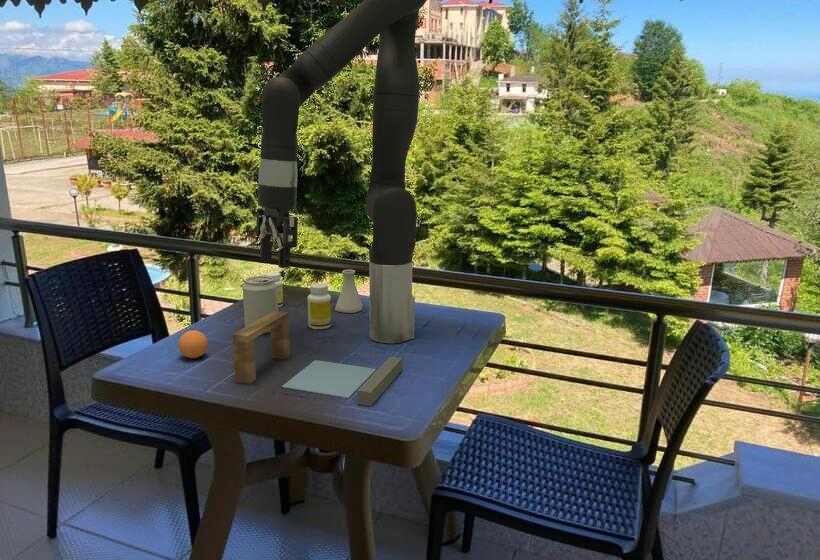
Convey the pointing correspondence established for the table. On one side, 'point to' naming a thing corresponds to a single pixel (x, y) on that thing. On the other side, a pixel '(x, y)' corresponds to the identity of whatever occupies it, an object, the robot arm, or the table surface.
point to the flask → (349, 295)
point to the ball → (193, 344)
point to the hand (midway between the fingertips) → (274, 263)
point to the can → (259, 298)
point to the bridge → (245, 344)
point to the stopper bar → (379, 381)
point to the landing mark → (330, 378)
